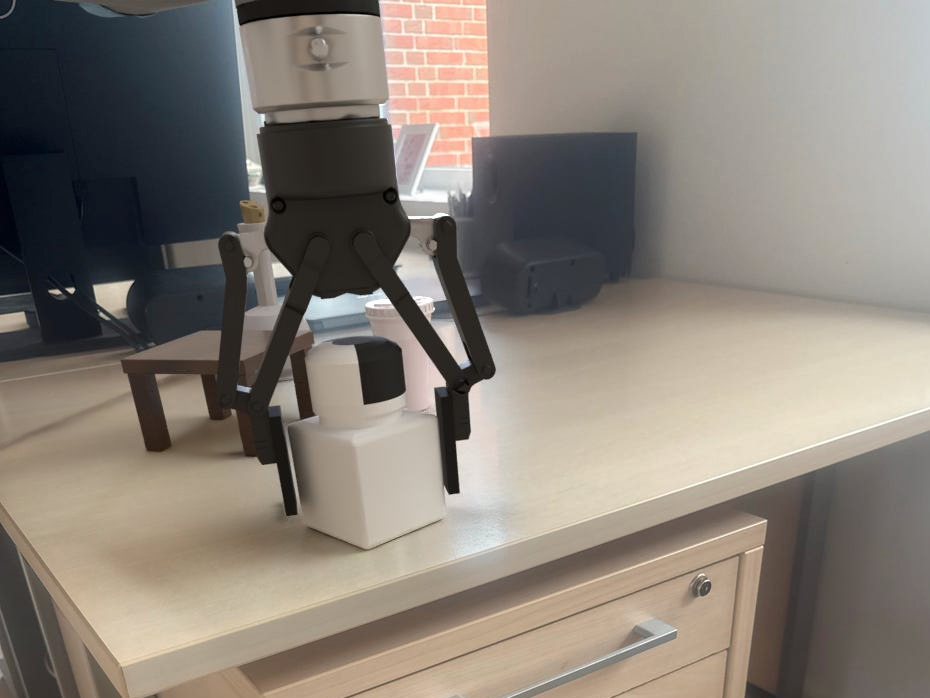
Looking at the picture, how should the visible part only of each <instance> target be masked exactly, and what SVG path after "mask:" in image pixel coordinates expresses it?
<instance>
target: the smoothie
mask: <svg viewBox="0 0 930 698" xmlns="http://www.w3.org/2000/svg"><path fill="white" fill-rule="evenodd" d="M411 296H412V295H411ZM412 297H413V299H414V300H415V302H416V303H417V305H418V306H419V308H420V309H421V311H422V312H423V314H424V315H425V317H426V318H427V319H428V321H429V322H430V324H431V325H432V313H434V312H435V310H436V308H435V307H434V306H435V305H434V299H432V298H431V297H427V296H419V295H418V296H417V295H413V296H412ZM364 312H365V313H364V314H365V315H364V316H365V318H367V319H368V320H369V323H370V328H371V332H372V333H371V334H372V336H380V337H384V338H387V339H389V340H392V341H394V342H396V343H397V344H398V345H399V346H400V347H401V348H402V356H403V366H404V375H405V385H406V394H407V403H406V405H404V406H403V408H407V409H411V410H416V411H420V412H423V411H424V410H426V409H428V408H429V405H430V373H431V359H430V358H429V356H428V355H427V354H426V352H425V351H424V349H423V348H422V346H421V345H420V343H419V342H418V341H417V339H416V338H415V336H414V335H413V333H412V332H411V331H410V329H409V328H408V326H407V325H406V323H405V322H404V320H403V319H402V318H401V316H400V315H399V313H398V312H397V310H396V309H395V308H394V306H393V305H392V303H391V302H390V300H389V299H388V298H387V297H386V298H380V299H375V300H371V301H369V302H367V303H365V304H364Z"/></svg>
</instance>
